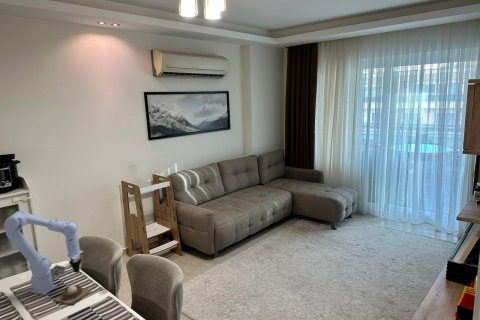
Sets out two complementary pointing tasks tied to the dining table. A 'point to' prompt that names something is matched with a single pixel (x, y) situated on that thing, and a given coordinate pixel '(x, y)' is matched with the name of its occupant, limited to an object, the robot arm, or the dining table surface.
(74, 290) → the egg
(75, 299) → the egg stand
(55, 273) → the egg carton
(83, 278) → the dining table surface
